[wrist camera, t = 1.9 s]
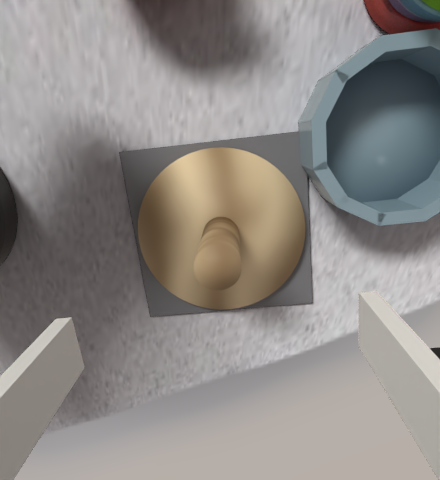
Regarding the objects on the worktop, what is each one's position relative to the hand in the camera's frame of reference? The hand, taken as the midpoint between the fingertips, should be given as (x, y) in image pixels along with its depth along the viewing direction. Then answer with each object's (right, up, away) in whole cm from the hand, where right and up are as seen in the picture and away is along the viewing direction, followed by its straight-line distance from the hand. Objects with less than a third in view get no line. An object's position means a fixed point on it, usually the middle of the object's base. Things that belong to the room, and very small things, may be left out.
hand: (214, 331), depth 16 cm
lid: (0, +5, +16) cm, 17 cm away
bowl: (+13, +13, +14) cm, 23 cm away
